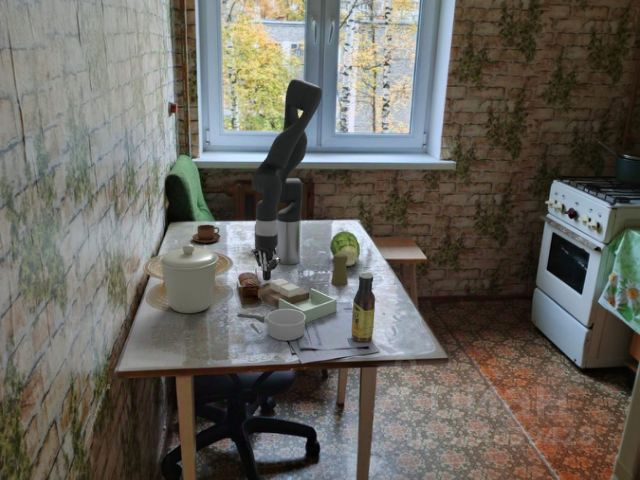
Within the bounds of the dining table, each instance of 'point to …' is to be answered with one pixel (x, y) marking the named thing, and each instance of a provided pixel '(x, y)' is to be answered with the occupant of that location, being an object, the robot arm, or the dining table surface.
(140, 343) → the dining table surface
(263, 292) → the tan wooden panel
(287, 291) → the tile
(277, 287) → the tile
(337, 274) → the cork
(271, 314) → the saucepan
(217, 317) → the dining table surface
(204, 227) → the cup and saucer
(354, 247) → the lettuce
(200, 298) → the canister
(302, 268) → the dining table surface
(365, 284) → the sauce bottle
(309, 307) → the tray
